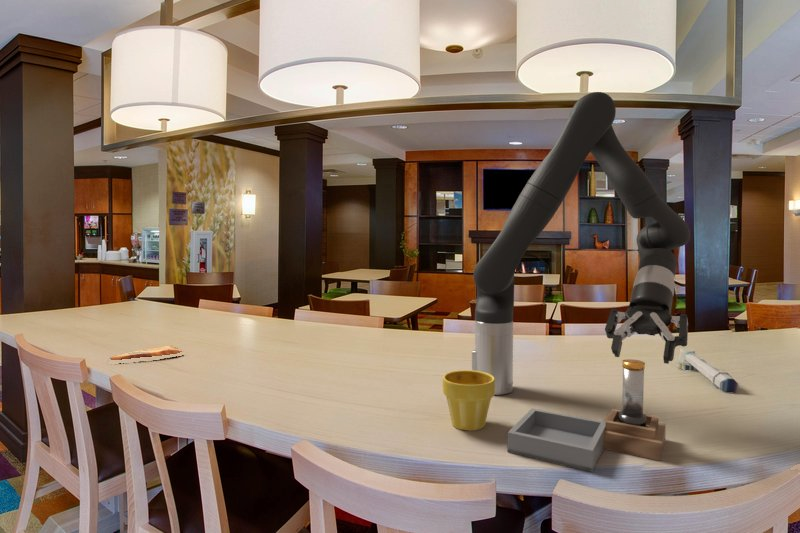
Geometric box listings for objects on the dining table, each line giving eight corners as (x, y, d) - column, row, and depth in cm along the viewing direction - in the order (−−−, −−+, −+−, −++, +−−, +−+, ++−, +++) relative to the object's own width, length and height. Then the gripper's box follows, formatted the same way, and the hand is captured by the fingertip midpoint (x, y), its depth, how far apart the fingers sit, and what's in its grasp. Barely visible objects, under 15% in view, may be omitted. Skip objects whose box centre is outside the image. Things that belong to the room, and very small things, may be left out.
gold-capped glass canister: (617, 428, 86) (618, 362, 85) (620, 421, 89) (621, 357, 89) (644, 434, 83) (646, 366, 83) (647, 425, 87) (648, 360, 86)
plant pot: (489, 438, 89) (489, 386, 89) (436, 430, 93) (436, 381, 93) (498, 419, 99) (499, 372, 99) (450, 412, 103) (450, 367, 102)
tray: (507, 452, 84) (507, 432, 83) (531, 425, 95) (531, 408, 95) (592, 472, 76) (592, 450, 76) (607, 440, 88) (607, 422, 88)
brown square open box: (597, 447, 85) (597, 422, 85) (606, 428, 93) (607, 406, 93) (661, 461, 80) (661, 434, 79) (665, 439, 88) (665, 415, 88)
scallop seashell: (101, 365, 146) (101, 353, 146) (145, 352, 164) (145, 341, 164) (151, 368, 142) (151, 356, 142) (191, 354, 160) (190, 343, 160)
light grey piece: (719, 377, 114) (673, 341, 139) (716, 403, 116) (671, 363, 140) (742, 378, 114) (692, 342, 138) (739, 404, 115) (690, 363, 139)
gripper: (612, 279, 101) (597, 342, 93) (691, 282, 93) (682, 351, 84) (618, 301, 106) (604, 363, 97) (693, 306, 97) (685, 374, 88)
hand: (640, 358), depth 91 cm, fingers open, 8 cm apart
